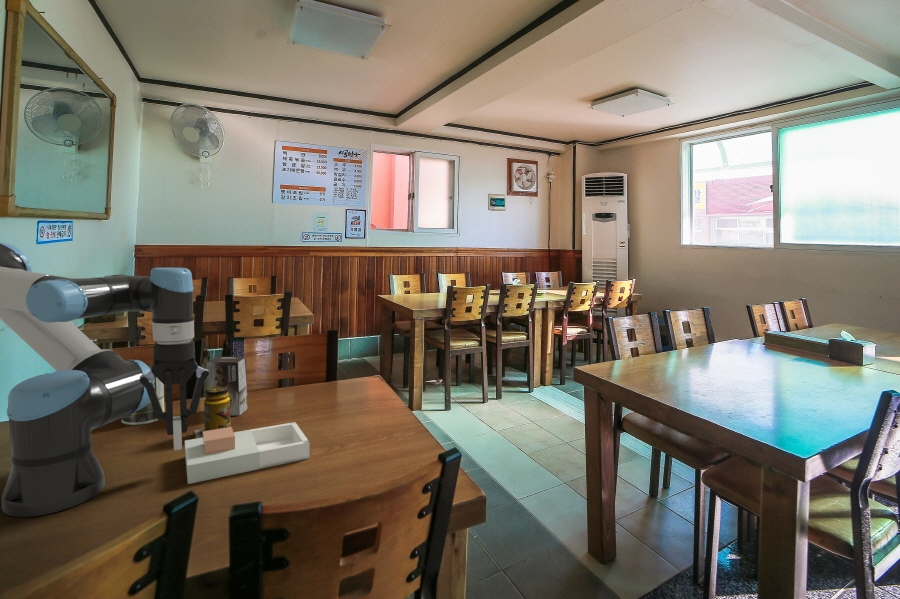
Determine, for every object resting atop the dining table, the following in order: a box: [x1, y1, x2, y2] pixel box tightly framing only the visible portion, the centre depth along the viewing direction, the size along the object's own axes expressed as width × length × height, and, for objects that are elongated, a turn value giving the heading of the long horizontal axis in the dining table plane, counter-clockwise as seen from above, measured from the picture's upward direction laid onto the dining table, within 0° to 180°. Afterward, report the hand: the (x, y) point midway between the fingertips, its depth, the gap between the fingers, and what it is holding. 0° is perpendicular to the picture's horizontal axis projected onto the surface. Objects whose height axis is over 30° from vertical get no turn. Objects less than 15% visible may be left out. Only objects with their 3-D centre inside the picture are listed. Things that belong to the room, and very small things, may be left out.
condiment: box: [194, 386, 231, 439], centre depth 120 cm, size 7×8×12 cm
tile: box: [203, 426, 235, 454], centre depth 104 cm, size 6×6×3 cm
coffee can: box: [121, 364, 165, 426], centre depth 128 cm, size 10×10×14 cm
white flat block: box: [184, 429, 261, 485], centre depth 104 cm, size 14×14×4 cm
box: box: [249, 421, 311, 470], centre depth 111 cm, size 11×14×4 cm
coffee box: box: [206, 356, 248, 416], centre depth 135 cm, size 9×6×16 cm
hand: (177, 447), depth 99 cm, fingers closed
